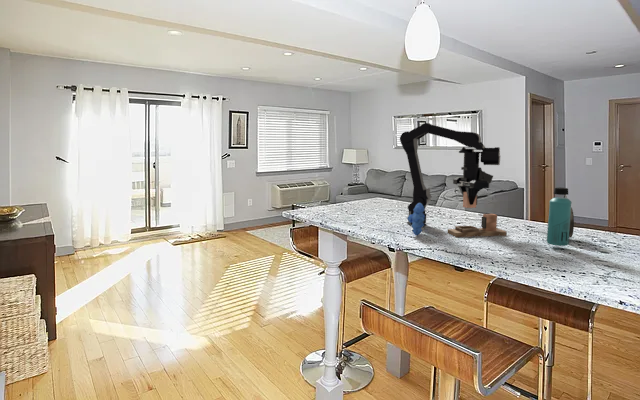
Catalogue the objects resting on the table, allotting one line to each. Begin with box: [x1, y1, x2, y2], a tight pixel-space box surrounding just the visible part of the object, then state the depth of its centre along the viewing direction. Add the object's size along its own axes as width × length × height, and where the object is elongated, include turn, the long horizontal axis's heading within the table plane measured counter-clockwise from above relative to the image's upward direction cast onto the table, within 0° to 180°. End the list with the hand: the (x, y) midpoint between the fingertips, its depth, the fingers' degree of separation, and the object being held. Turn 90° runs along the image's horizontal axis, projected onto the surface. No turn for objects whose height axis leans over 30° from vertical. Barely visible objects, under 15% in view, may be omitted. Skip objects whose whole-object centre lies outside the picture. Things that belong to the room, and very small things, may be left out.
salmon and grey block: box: [462, 192, 479, 209], centre depth 165 cm, size 5×3×6 cm, turn 97°
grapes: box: [406, 203, 426, 236], centre depth 157 cm, size 12×7×12 cm, turn 155°
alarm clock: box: [563, 195, 575, 238], centre depth 148 cm, size 11×5×16 cm, turn 158°
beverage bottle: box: [546, 187, 572, 247], centre depth 135 cm, size 6×7×20 cm
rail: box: [447, 213, 508, 238], centre depth 157 cm, size 20×7×8 cm, turn 97°
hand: (469, 204), depth 165 cm, fingers closed on salmon and grey block, 3 cm apart
